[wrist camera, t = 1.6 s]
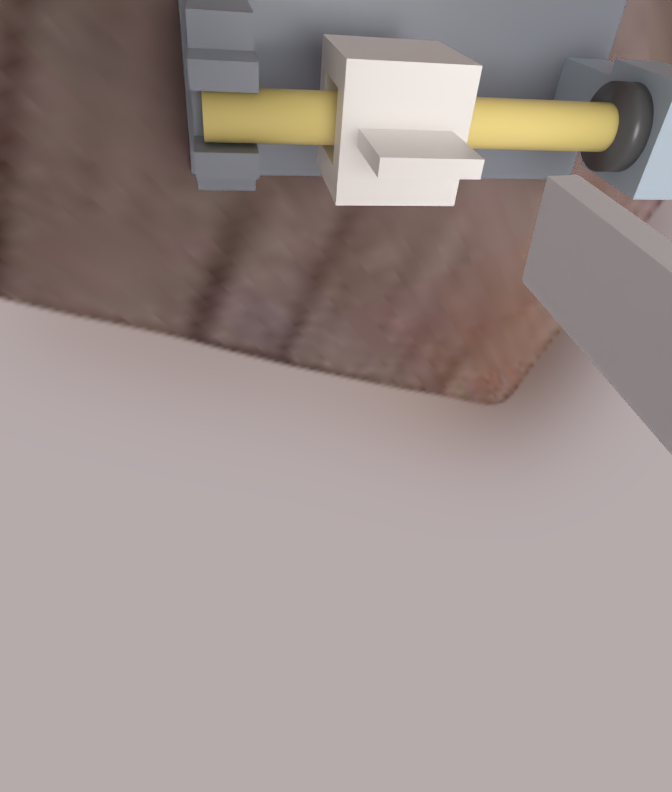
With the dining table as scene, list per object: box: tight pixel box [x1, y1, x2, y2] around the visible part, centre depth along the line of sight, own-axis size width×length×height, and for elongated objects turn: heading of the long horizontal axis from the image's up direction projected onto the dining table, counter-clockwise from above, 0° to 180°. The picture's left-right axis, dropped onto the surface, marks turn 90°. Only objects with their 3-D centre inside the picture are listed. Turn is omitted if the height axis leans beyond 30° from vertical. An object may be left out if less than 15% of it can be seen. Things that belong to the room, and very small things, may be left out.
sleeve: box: [316, 34, 485, 206], centre depth 28 cm, size 6×6×10 cm
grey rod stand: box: [178, 0, 672, 200], centre depth 32 cm, size 26×11×12 cm, turn 86°
